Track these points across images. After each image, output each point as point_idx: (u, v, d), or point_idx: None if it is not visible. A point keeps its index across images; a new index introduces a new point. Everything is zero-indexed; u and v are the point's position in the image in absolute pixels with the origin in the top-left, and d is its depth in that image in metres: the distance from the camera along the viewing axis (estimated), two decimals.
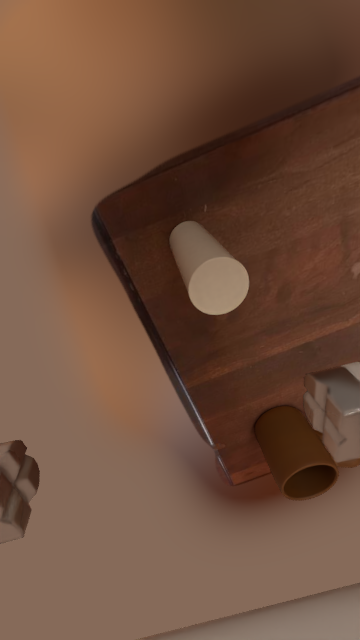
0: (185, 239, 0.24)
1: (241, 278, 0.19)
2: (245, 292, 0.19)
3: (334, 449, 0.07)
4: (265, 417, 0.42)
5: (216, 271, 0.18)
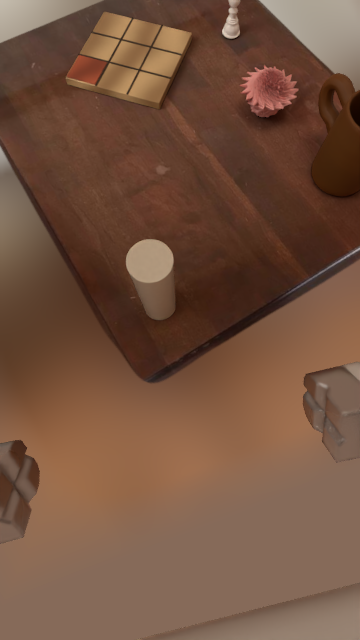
0: (142, 301, 0.30)
1: (140, 246, 0.25)
2: (151, 240, 0.25)
3: (334, 449, 0.07)
4: (328, 189, 0.39)
5: (137, 265, 0.25)
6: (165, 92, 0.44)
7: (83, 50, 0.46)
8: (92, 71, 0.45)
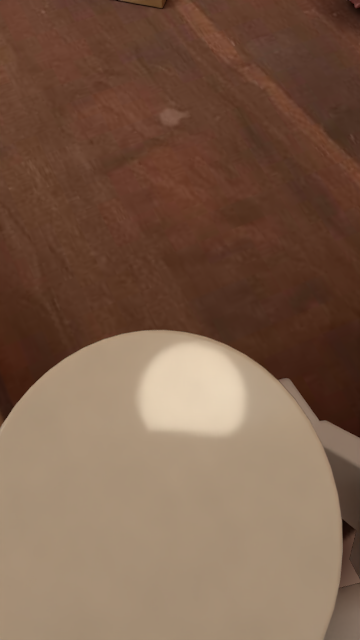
0: None
1: (83, 389, 0.03)
2: (159, 338, 0.04)
3: None
4: None
5: (53, 564, 0.03)
6: None
7: None
8: None
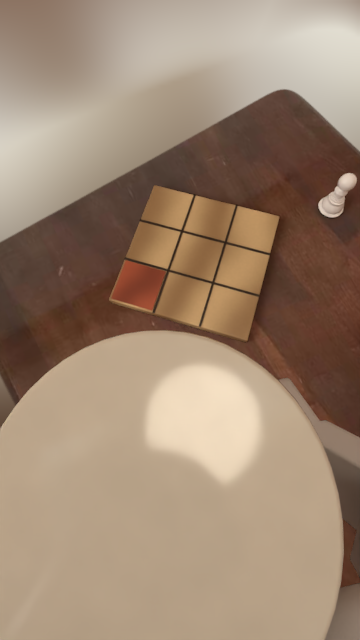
0: None
1: (83, 390, 0.03)
2: (159, 338, 0.04)
3: None
4: None
5: (53, 564, 0.03)
6: None
7: (130, 251, 0.33)
8: (146, 288, 0.32)
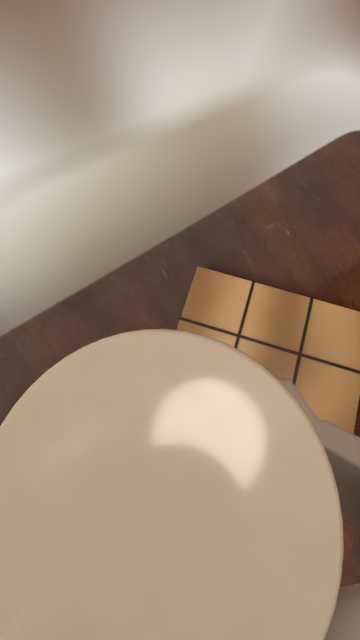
0: None
1: (83, 389, 0.03)
2: (159, 337, 0.04)
3: None
4: None
5: (52, 563, 0.03)
6: None
7: None
8: None
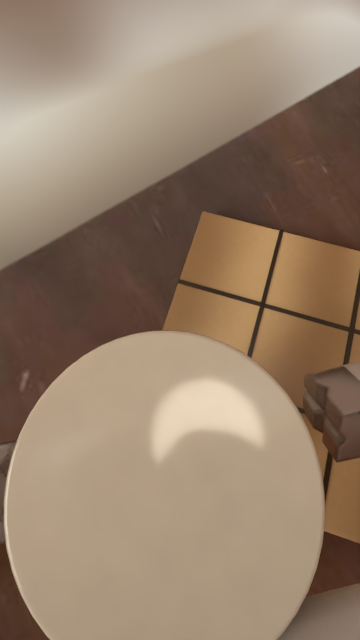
0: None
1: (100, 382, 0.04)
2: (166, 337, 0.04)
3: (334, 449, 0.07)
4: None
5: (77, 531, 0.04)
6: None
7: None
8: None
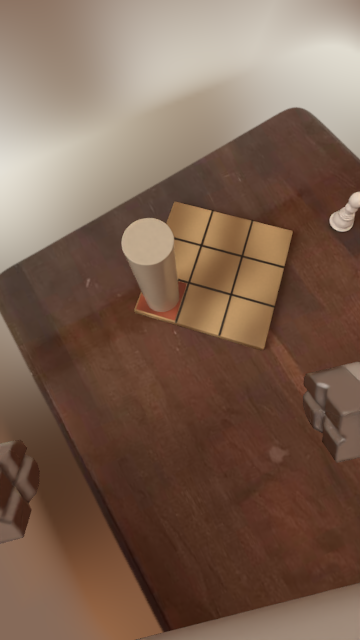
0: (143, 290, 0.28)
1: (136, 226, 0.23)
2: (148, 219, 0.23)
3: (334, 449, 0.07)
4: None
5: (133, 246, 0.22)
6: (268, 328, 0.33)
7: None
8: None
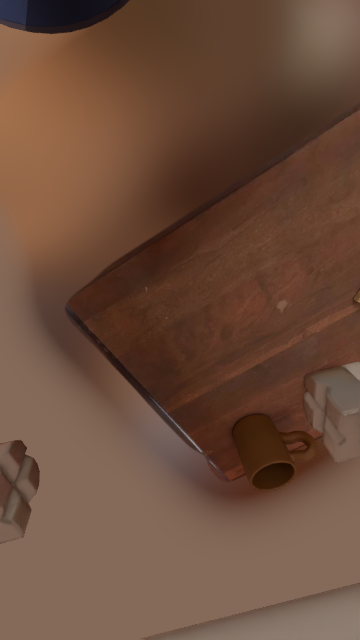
0: None
1: None
2: None
3: (334, 449, 0.07)
4: (238, 426, 0.51)
5: None
6: None
7: None
8: None
